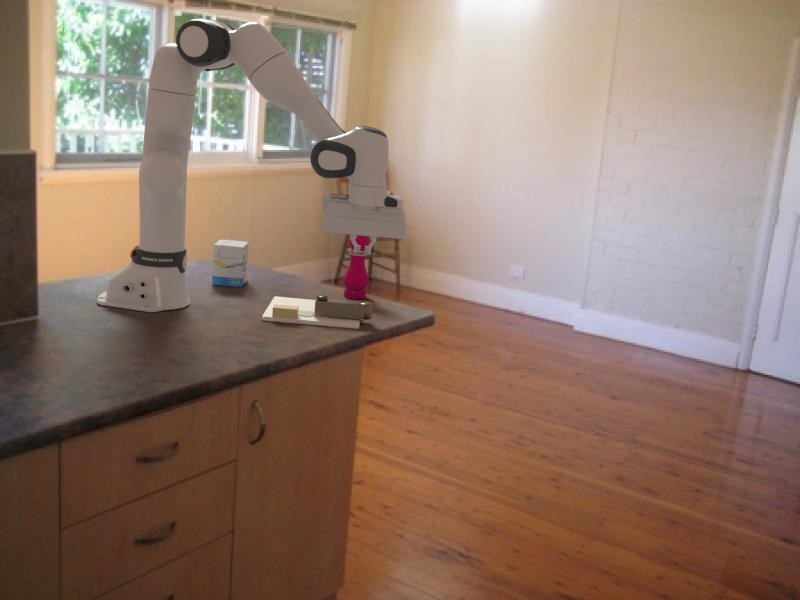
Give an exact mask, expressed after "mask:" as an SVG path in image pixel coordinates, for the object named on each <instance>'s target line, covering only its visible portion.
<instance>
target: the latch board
mask: <svg viewBox="0 0 800 600" xmlns="http://www.w3.org/2000/svg"><path fill="white" fill-rule="evenodd" d="M315 300H316V299H308V298H307V299H306V298H296V297H287V296H276V295H275V296H273V298H272V300H271V301H270V303H269V305H268V306H267V308H266V309H265V311H264V313H263V314H262V316H261V321H264V322H265V321H266V322H277V323H278V322H279V323H289V324H299V325H301V324H302V325H309V326H310V325H312V326H323V327H335V328H343V329H344V328H346V329H357V330H359V329H360V326H361V325H360V324H361V320H362V319H351V318H340V317H328V316H317V315H314V313H315Z"/></svg>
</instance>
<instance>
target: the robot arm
mask: <svg viewBox="0 0 800 600" xmlns="http://www.w3.org/2000/svg"><path fill="white" fill-rule="evenodd" d="M183 23H184V24H182V25H181V26H180V27H179V29H178V31H177V34H176V38H175V43H168V44H164V45H161V46H160V47H158V49H157V51H156V52H155V55H154V59H153V61H152V66H151V70H150V75H149V82H148V90H147V97H146V99H147V100H146V111H145V119H144V131H143V132H144V134H143V144H142V145H143V146H142V157H141V164H140V166H139V169H138V170H139V172H138V188H139V189H138V195H139V199H138V200H139V201H138V202H139V237H138V238H139V244H137V245H136V246H134V247H133V249H132V250H131V252H129V254H130V255H129V257H130V258H131V259H130V260H131V261H130V262H128V263H127V264H126V265H125V266H123V267H122V268H120V269H119V270H117V271H116V272H114V273H113V274H112V275H111V276H110V278H109V280H108V283H107V287H106V290H105V291H104V292H102V293H100V294H99V295H98V296H97V304H98V305H100V306H105V307H106V306H107V307H113V308H119V309H125V310H133V311H139V312H140V311H141V312H147V313H157V312H161V311H168V310H171V311H172V310H176V309H177V310H178V309H182V308H185V307H188V306H189V305H190V304H191V301H190V298H189V293H188V288H187V280H186V270H187V266H188V265H187V264H188V256H187V249H186V248H185V247H186V221H187V220H186V216H187V215H186V213H187V212H186V211H187V210H186V209H187V181H188V180H187V177H188V174H187V173H188V162H189V153H190V145H191V138H192V130H193V121H194V120H193V119H194V113H195V104H196V103H195V102H196V95H197V85H198V80H199V76H200V75H201V73H202V72H203V71H205V72H211V71H213V72H214V71H219V70H225V69H228V68H232V67H233V66H235V65H236V66H237V67H238V68H239V69H240V70H241V71H242V73H244V75H245V77H246V78H247V79H248V81H249V83H250V84H251V85H252V87H253V88H254V89H255V91H257V93H259V95H260V96H261V97H262V98H263V99H265V101H267V102H268V103H270V104H271V105H274V106H276V107H279V108H282V109H284V110H286V111H288V112H290V113H292V114H294V115H295V116H297V117H298V119H299V120H301V122H302V123H303V124H304V125H305V127H306V128H307V130H309V131H310V133H311V134H312V135H313V136H314V138H315V139H316V140H317V143H316V144H315V145H314V146H313V148H312V149H311V152H310V156H309V158H310V161H309V162H310V165H311V168H312V169H313V171H314V173H316V174H317V175H318V176H319V177H321V178H323V179H326V180H338V179H341V178H345V179H346V178H347V179H348V181H349V182H348V192H347V193H348V194H342V193H340V194H339V193H329V194H326V195H325V196H323V198H322V201H321V202H322V204H321V208H322V210H323V216H322V223H321V229H322V231H323V232H324V233H331V234H342V235H349V236H350V240H351V242H352V244H353V246H354V253H358V254H360V248H361V245H357V243H356V241H355V239H356V237H357V235H363V236H369V237H370V244H369V246H365V254H367V255H369V256H370V255H371V254H372V248H373V247H374V245H375V243H376V242H377V238H387V239H397V240H403V239H404V238H405V237H406V236H407V217H406V215H407V214H406V211H405V209H404V208H403V206H404V202H405V201H404V198H403V197H402V196H400V195H398V194H397V193H393V192H392V191H388V190H387V180H386V174H387V171H388V168H389V155H390V154H389V153H390V151H389V150H390V149H389V145H390V144H389V139H388V136H387V134H386V133H385V132H384V131H383V130H380V129H379V128H376V127H372V126H367V125H357V126H356V127H355V128H353V129H352V130H350V131H345V130H344V129H342V128H341V127H340V125H339V124H338V123H337V122H336V121H335V119H334V118H333V117H332V115H331V113H329V112H328V110H327V109H326V108H325V107H324V105H323V103H321V101H320V100H319V99H318V97H317V96H316V95H315V94H314V93H313V90H312V89H311V87H310V86H309V85H308V82H307V81H306V80H305V77H303V75H302V73H301V72H300V70H299V69H298V67H297V65H296V64H295V62H294V61H293V59H292V58H291V56H290V55H289V54H288V52H287V51H286V49H285V48H284V47H283V46H282V44H281V43H280V42H279V40H277V38H276V37H275V36H274V35H273V34H272V33H271V32H270V31H269V30H268V29H267V28H266V27H265V26H264V25H262V23H259V22H255V21H252V22H246V23H244V24H241V25H240V26H239V27H237V28H235V29H234V28H233V27H232V26H230V25H229V24H225V23H223V22H220V21H219V20H214V19H204V18H193V19H190V20H188V21H186V22H183Z"/></svg>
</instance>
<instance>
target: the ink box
mask: <svg viewBox="0 0 800 600" xmlns="http://www.w3.org/2000/svg"><path fill="white" fill-rule="evenodd" d="M212 257H213V258H212V259H213V260H212V273H211V274H212V277H211V283H212V284H211V285H213V286H214V285H215V286H225V287H237V288H242V287H243V286H244V285H245V283H246V282H247V280H248V279H247V278H248V262H249V261H248V260H249V241H243V240H233V239H218V241H216V242H215V243H214V244H213V253H212Z"/></svg>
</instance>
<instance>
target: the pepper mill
mask: <svg viewBox="0 0 800 600" xmlns="http://www.w3.org/2000/svg"><path fill="white" fill-rule="evenodd" d="M370 239H371V237H370V236H363V235H357V237H356V239H355V241H356V243H357V245H361V248H360V254H358V253H354V246H353V244H352V242H351V240H350V235H349V237H348V245H349V247H350V248H349V251H348V252H349V255H350V259H349V260H350V261H349V266H348V268H347V270H346V272H345V273H344V275H343V279H342V283H343V285H344V286H345V288H344V290H343V296H344V297H345V298H347V299H350V300H362V299H365V298H366V297H367V290H366V288H367V287H369V284H370V283H369V282H370V280H369V279H370V278H369V274H368V271H367V269H366V262H365V261H366V256H367V255H368V254H365V246H369V245H370V243H371V240H370ZM353 292H354V293H353ZM365 295H366V296H365Z"/></svg>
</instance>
